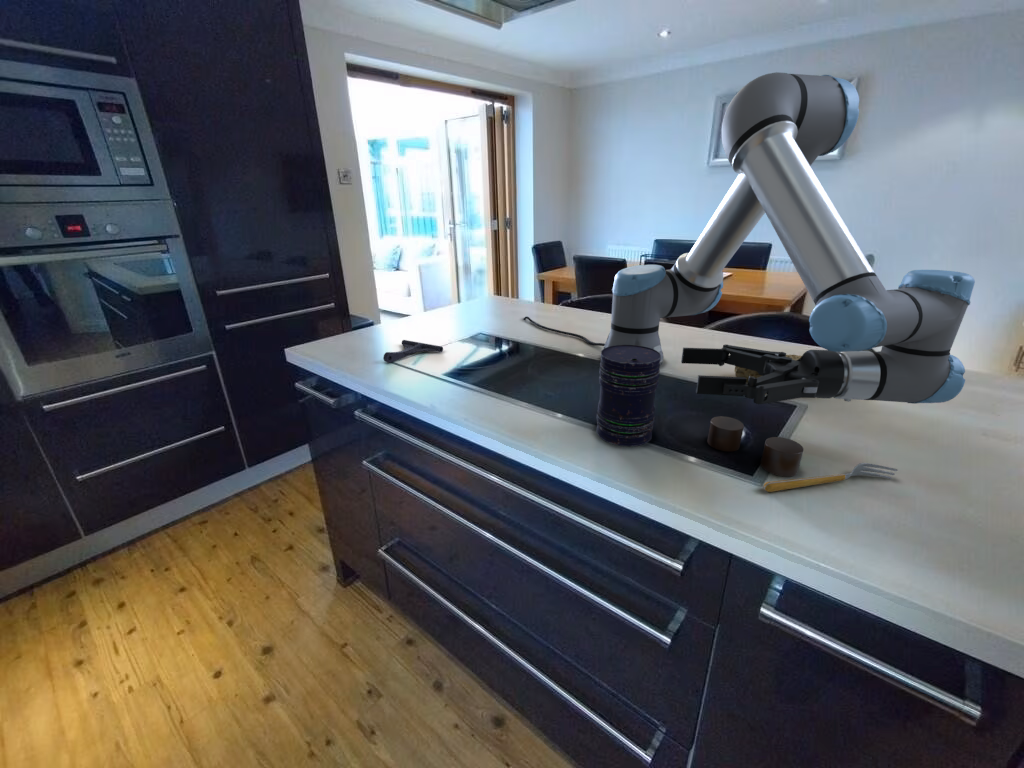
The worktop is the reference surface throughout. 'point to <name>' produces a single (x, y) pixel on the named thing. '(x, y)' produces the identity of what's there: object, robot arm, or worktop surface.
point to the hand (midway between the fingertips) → (689, 368)
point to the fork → (827, 478)
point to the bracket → (410, 350)
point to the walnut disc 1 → (725, 433)
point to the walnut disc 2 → (781, 456)
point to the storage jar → (627, 394)
